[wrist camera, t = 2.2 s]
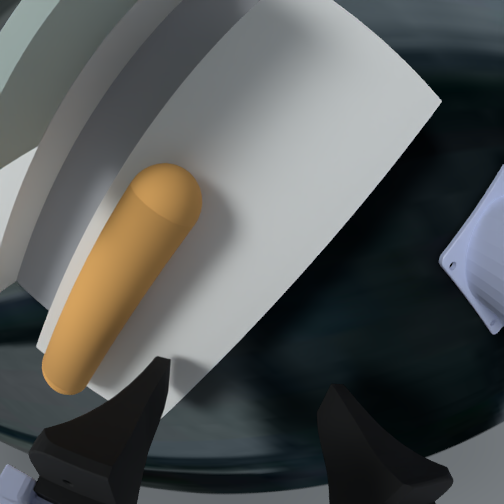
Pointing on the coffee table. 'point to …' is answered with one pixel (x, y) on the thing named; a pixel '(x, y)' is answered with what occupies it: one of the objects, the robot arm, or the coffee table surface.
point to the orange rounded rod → (120, 271)
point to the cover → (46, 63)
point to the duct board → (210, 165)
